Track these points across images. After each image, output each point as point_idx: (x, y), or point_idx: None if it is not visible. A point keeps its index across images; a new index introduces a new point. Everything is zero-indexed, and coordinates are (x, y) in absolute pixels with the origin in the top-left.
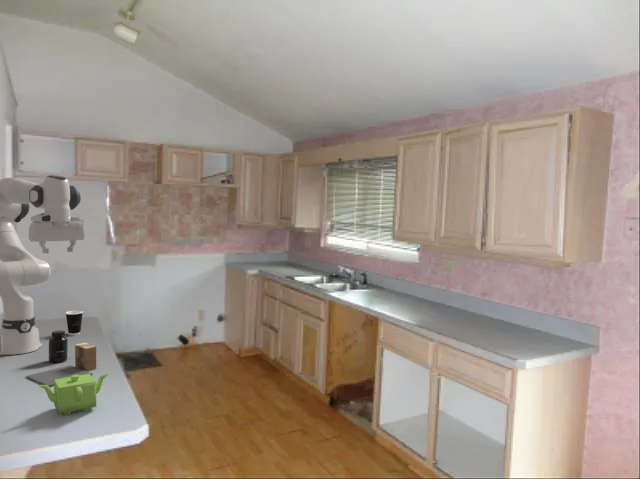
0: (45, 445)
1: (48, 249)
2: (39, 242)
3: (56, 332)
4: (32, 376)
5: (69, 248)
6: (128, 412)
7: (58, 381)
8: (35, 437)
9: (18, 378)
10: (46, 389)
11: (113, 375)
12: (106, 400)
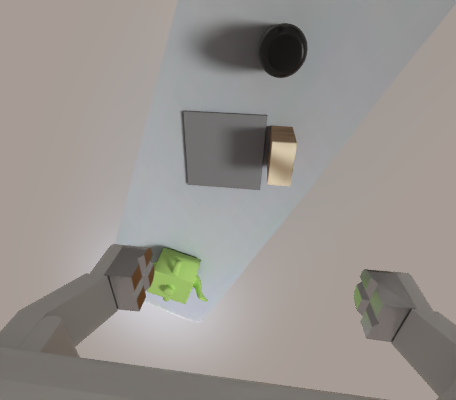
0: None
1: (141, 303)
2: (2, 337)
3: (275, 60)
4: (189, 123)
5: (364, 329)
6: (210, 300)
7: (154, 277)
8: None
9: (172, 103)
10: None
11: (277, 213)
12: (214, 268)
